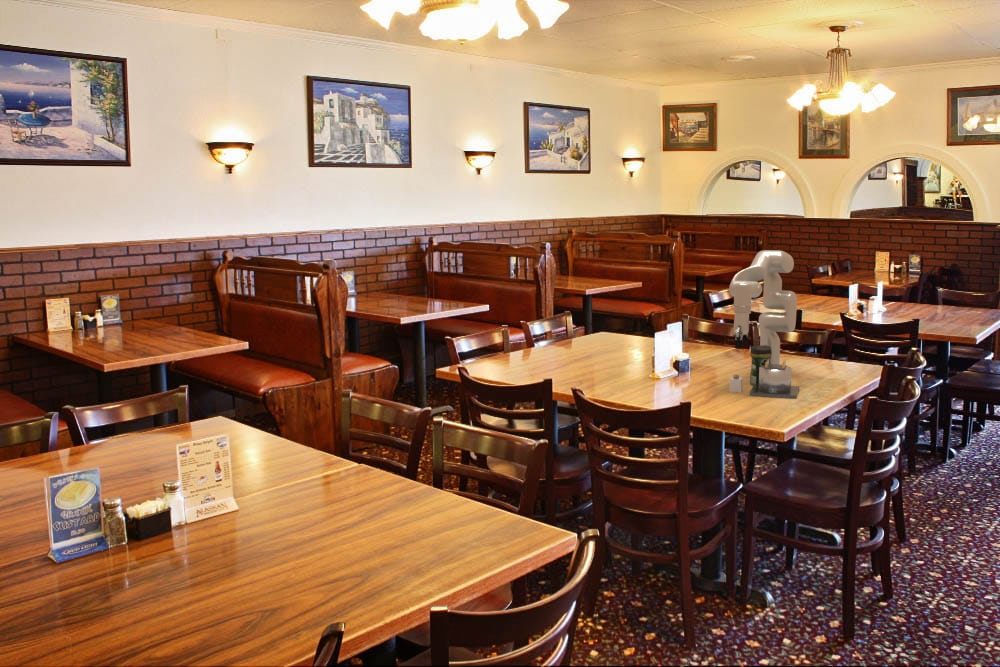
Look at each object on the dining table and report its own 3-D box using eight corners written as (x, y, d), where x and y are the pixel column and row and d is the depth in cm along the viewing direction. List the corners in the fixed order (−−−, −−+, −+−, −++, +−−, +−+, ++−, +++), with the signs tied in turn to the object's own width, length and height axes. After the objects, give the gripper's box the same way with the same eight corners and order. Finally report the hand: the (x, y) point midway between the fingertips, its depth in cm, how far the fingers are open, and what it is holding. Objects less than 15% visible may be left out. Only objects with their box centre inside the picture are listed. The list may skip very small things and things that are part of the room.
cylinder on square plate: (754, 386, 414) (755, 356, 412) (799, 389, 407) (800, 358, 404) (749, 395, 396) (750, 364, 394) (796, 398, 388) (797, 367, 386)
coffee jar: (764, 381, 425) (765, 343, 422) (773, 384, 417) (775, 346, 414) (746, 383, 422) (747, 345, 419) (755, 386, 415) (756, 347, 412)
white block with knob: (731, 389, 409) (731, 373, 408) (742, 390, 407) (742, 374, 406) (729, 392, 404) (729, 376, 403) (740, 392, 403) (741, 376, 401)
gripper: (738, 307, 408) (737, 344, 410) (729, 311, 393) (728, 349, 395) (755, 308, 404) (754, 345, 406) (746, 312, 389) (745, 350, 391)
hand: (741, 347), depth 401 cm, fingers open, 9 cm apart
